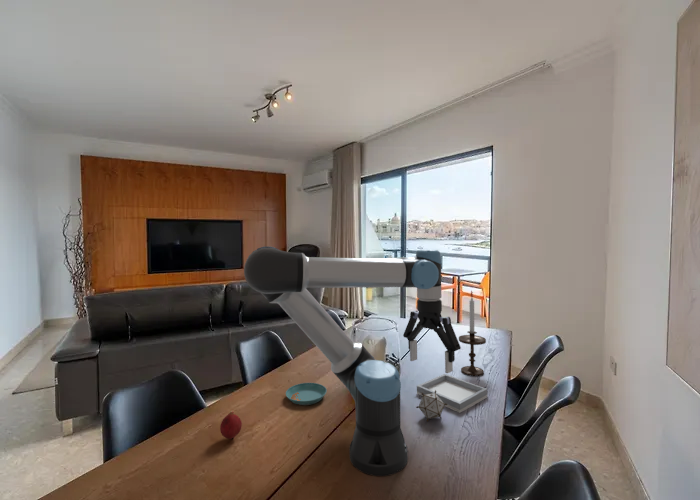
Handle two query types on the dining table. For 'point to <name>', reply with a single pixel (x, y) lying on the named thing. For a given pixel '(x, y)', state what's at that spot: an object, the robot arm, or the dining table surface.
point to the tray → (454, 392)
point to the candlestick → (472, 344)
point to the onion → (230, 425)
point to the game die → (431, 405)
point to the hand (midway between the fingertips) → (430, 365)
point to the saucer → (306, 393)
